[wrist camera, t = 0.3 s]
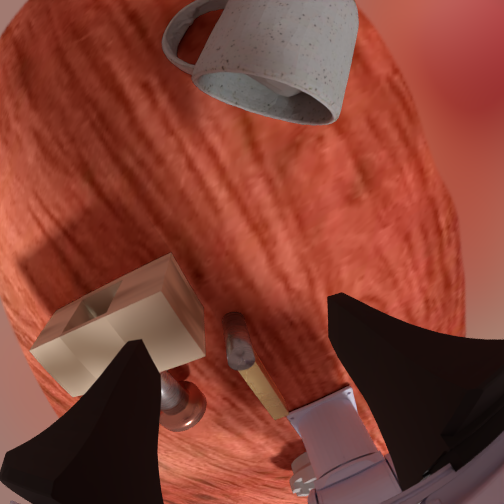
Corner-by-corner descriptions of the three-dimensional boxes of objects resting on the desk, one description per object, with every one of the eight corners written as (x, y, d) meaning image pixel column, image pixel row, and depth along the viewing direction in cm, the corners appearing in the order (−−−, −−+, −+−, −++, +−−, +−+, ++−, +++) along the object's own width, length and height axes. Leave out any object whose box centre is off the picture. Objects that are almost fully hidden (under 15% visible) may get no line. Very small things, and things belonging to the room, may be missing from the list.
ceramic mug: (333, 34, 14) (392, -6, 7) (305, 130, 17) (365, 124, 10) (189, -7, 12) (183, -72, 5) (149, 90, 15) (110, 56, 7)
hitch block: (203, 308, 21) (205, 356, 16) (89, 353, 20) (72, 397, 16) (171, 252, 19) (161, 291, 14) (55, 310, 18) (29, 350, 14)
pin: (205, 382, 23) (208, 424, 18) (161, 396, 23) (158, 436, 18) (153, 315, 19) (143, 358, 15) (106, 334, 19) (90, 375, 15)
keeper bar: (280, 381, 25) (292, 416, 21) (263, 388, 25) (273, 424, 21) (239, 308, 21) (248, 347, 17) (218, 317, 21) (223, 357, 17)
